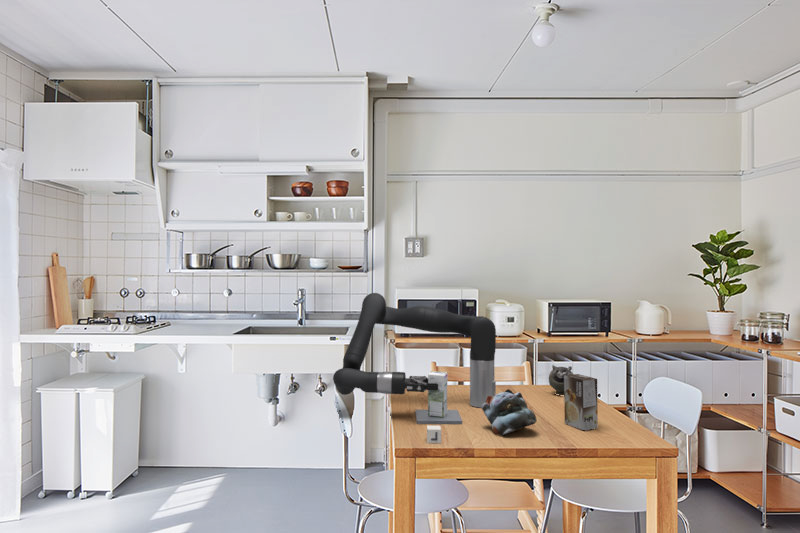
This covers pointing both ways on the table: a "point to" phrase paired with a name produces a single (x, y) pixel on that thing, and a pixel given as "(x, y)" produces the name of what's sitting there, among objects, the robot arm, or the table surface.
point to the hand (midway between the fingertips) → (438, 384)
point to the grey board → (450, 417)
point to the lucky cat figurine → (507, 412)
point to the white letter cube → (433, 434)
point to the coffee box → (580, 401)
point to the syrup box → (437, 394)
